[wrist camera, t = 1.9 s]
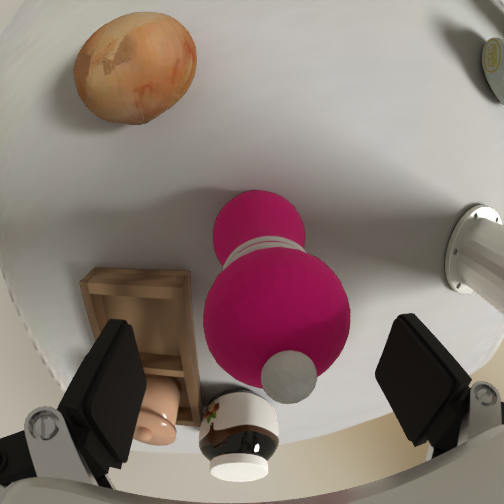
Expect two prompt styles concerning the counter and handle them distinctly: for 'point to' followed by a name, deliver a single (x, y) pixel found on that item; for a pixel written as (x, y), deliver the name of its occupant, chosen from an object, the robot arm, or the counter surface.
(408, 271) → the counter surface
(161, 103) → the onion
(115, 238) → the counter surface
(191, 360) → the caddy
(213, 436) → the spread jar
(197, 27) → the counter surface
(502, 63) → the air freshener
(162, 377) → the salt crock
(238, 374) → the pepper mill
